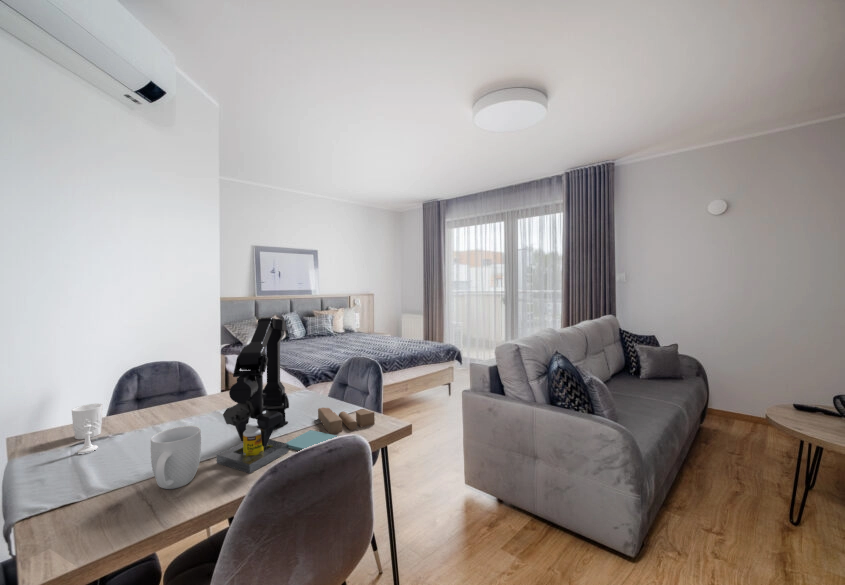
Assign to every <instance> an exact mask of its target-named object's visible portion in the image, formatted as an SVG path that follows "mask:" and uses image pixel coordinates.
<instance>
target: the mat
mask: <svg viewBox="0 0 845 585" xmlns="http://www.w3.org/2000/svg"><path fill="white" fill-rule="evenodd" d="M337 436H338V435H336V434H329V433H327V432H321V431H318V430H317V431H316V430H314V429H310V430H307V431H306V432H304V433H302V434H299V435H298V436H297V437H295V438H292V439H290V440H288V441H287V442H285V443H287V444H288V445H289V449H290V450H291V449H292V450H295V451H299V450H302V449H304V448H307V447H309V446H312V445H314V444H318V443H320V442H323V441H326V440H328V439H332V438H334V437H337Z"/></svg>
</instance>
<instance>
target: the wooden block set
mask: <svg viewBox="0 0 845 585" xmlns="http://www.w3.org/2000/svg"><path fill="white" fill-rule="evenodd" d="M317 419H319V421H320V422H321V423H322V425H323V427H324V429H325V430H326V431H327V432H328V434H332V435H334V434H337V433H341V432H343V424H344V425H345V426H346V427H347V428H348V430H350V431H353V430H355V429H356V428H358V426H359V428H362V427H366V426H367V427H368V426H371V425H375V412H374V411H371V410H367V409H363V408H360V409H358V410H356V411H355V419H353V418H352V417H351V416H350V415H349V414H348V413H347V411H341V412H339V413H338V414H337V413H336V412H334V411H333V410H332V409H331V408H330V407H320V408H318V409H317Z"/></svg>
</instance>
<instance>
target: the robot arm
mask: <svg viewBox="0 0 845 585" xmlns="http://www.w3.org/2000/svg"><path fill="white" fill-rule="evenodd" d="M286 331H287V322H286V321H285V320H283V318H274V317H260V318H258V319H257V326H256V328H255V330H254V333H253V336H252V338H251V340H250V342H249V344H247V345H246V346H244V347H243V348H242V349H241V351H240V353H239V354H238V355H237V357H236V361H235V366H234V370H233V374H232V376H233V377H232V378H236V382H235V383H234V384H232V386H231V387H230V390H229V392H228V393H229V398H230V399H231V401H232V402H234V403H237V404H234V405H233V406H230V407H227V408H226V409H225V411H224V412H223V414H222V417H223V419H224V421H225V423H226V425H231V426H234V427H235V429H236V432H237V434H238V436H239V439H240V441H241V442H243V432H244V431H245V430H246V424H248V423H250V422H249V421H250V419H253V420H256V422H257V424H258V425H259V426H258V427H257V428H258V429H259V430H261V440H262V446H263V447H264V446H266V445H267V443H268V440H269V439H270V438H271V436H272V434H273V432H274V430H275V429H278V428H280V427H283V426H284V425H287V424H288V423H289V421H286V410H287V409H289V408H290V402H289V401H290V400H289V398H288V395H287V393H286V388H285V386H284V384H283V383H282V381H281V341H282V339H283V338H284V336H285V332H286ZM265 350H266V351H265ZM265 372H266V384H265V386H264V382H263V380H264V377H263V375H264V373H265Z"/></svg>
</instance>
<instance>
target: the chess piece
mask: <svg viewBox="0 0 845 585" xmlns="http://www.w3.org/2000/svg"><path fill="white" fill-rule="evenodd" d="M90 422H91V421H88V419H87V420H86V422H83V424H86V425H85V426H83V429H84V431H85V433H83V435H85V439H84V442H83V443H84V444H83V446H82V447H81V448H79V449H78V450H76V453H77V452H78V453H86V452H90V451H94V450H96V449H97V448H98V449H99V446H98V445H96V444H95V445H93V444H92V441H91V438H90V436H89V434H91V433H92V432H90V428H91V425H89V424H88V423H90ZM96 451H97V450H96ZM94 452H95V451H94Z"/></svg>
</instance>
